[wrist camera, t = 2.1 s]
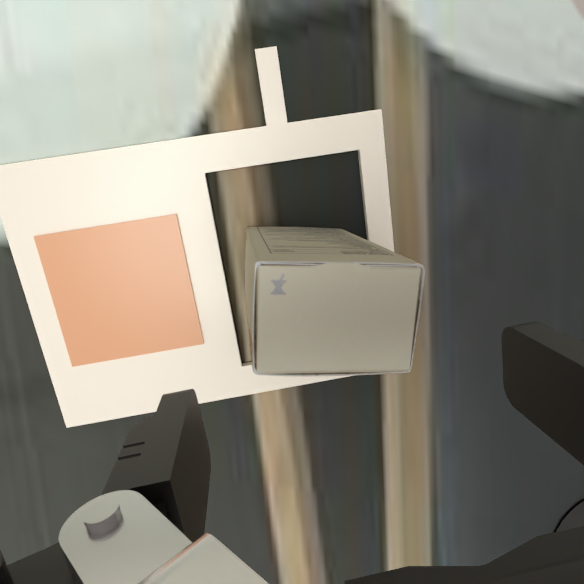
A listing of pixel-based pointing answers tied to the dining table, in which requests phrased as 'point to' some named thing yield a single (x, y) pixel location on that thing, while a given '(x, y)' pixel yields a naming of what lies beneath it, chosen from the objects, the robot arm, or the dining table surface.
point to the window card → (158, 256)
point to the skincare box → (329, 303)
